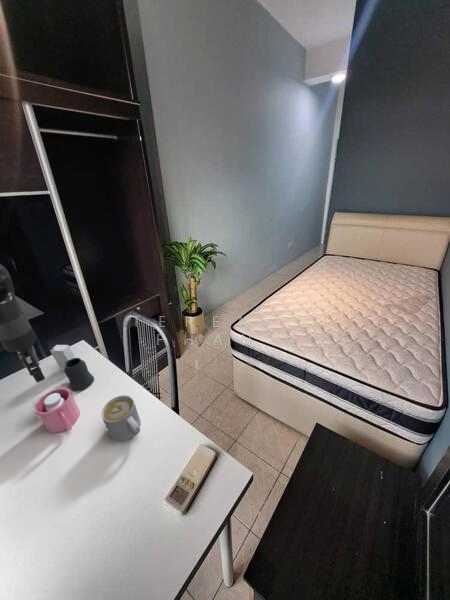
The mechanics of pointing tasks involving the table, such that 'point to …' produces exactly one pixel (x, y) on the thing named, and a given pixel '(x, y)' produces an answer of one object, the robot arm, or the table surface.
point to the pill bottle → (53, 401)
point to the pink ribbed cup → (58, 412)
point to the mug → (78, 374)
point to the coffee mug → (121, 418)
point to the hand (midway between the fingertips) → (38, 373)
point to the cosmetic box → (62, 355)
